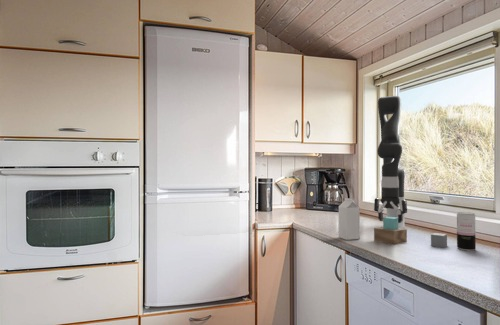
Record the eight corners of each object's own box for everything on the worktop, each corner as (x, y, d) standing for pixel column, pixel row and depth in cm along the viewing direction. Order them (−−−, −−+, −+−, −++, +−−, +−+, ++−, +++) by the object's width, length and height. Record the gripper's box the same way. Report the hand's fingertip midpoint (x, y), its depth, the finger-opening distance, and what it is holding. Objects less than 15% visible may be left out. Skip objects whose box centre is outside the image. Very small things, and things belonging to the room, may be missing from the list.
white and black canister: (458, 246, 150) (458, 211, 150) (476, 248, 145) (476, 212, 146) (455, 249, 145) (455, 212, 145) (474, 251, 140) (474, 214, 141)
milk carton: (346, 240, 163) (346, 199, 163) (338, 237, 170) (338, 198, 170) (359, 239, 165) (359, 199, 165) (351, 236, 171) (351, 197, 172)
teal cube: (387, 227, 164) (387, 216, 164) (398, 228, 161) (398, 217, 161) (383, 228, 161) (383, 217, 161) (394, 229, 157) (394, 218, 157)
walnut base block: (387, 238, 167) (387, 226, 167) (406, 242, 159) (406, 229, 159) (374, 241, 162) (374, 228, 162) (393, 245, 154) (393, 231, 154)
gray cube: (434, 244, 155) (434, 232, 155) (447, 245, 151) (447, 234, 151) (431, 246, 151) (430, 234, 151) (443, 247, 148) (443, 235, 148)
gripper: (409, 186, 159) (409, 222, 158) (378, 185, 168) (378, 219, 168) (403, 187, 153) (403, 224, 153) (371, 186, 163) (371, 221, 163)
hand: (390, 221), depth 161 cm, fingers open, 8 cm apart
